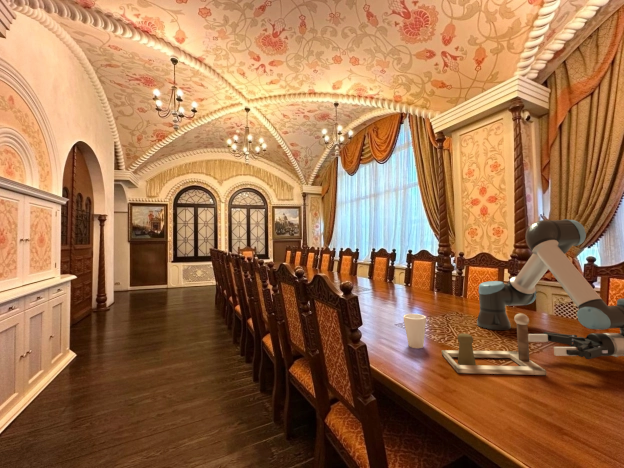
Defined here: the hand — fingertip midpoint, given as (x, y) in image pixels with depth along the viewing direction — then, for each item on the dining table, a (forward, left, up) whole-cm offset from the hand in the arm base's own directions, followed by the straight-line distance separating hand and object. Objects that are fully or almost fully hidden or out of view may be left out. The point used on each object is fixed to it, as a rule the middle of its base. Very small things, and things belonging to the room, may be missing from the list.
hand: (540, 344), depth 102 cm
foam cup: (-36, -25, -8) cm, 45 cm away
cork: (-13, -22, -8) cm, 27 cm away
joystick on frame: (-9, -15, -8) cm, 19 cm away
